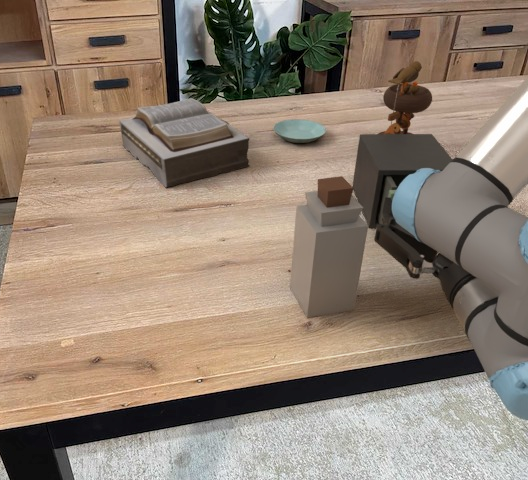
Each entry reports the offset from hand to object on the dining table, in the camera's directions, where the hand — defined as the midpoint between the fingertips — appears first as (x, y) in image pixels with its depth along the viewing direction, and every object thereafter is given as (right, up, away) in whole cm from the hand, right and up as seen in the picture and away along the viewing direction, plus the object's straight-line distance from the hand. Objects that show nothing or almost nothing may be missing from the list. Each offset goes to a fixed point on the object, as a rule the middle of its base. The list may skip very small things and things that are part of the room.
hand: (427, 205), depth 80 cm
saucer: (-12, +18, +43) cm, 48 cm away
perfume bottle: (-17, -14, -6) cm, 23 cm away
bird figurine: (+7, +13, +34) cm, 38 cm away
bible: (-39, +13, +35) cm, 54 cm away
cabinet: (+1, +1, +15) cm, 15 cm away
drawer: (0, -3, +7) cm, 8 cm away
